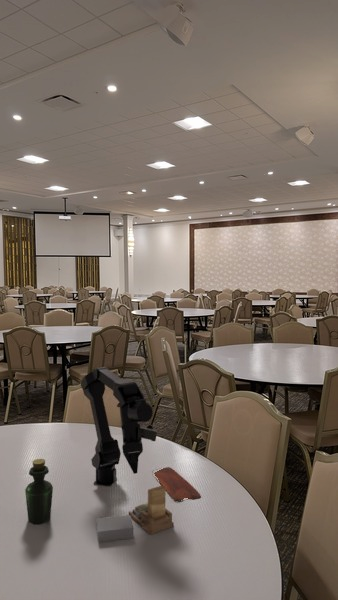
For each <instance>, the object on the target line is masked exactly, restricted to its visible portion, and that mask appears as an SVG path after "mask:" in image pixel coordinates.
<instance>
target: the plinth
mask: <svg viewBox="0 0 338 600" xmlns="http://www.w3.org/2000/svg"><path fill="white" fill-rule="evenodd" d="M132 520H133V519H132V518H131V516H130V515H129V514H125V515H118V516H117V515H116V516H107V517H100V518H99V517H98V518H96V527H95V528H96V537H97V543H101V542H102V543H103V542H110V541H111V542H112V541H118V540H125V539H126V540H127V539H134V536H135V534H134V533H135V532H134V529H135V528H134V524H133V521H132Z"/></svg>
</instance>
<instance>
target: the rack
mask: <svg viewBox="0 0 338 600" xmlns="http://www.w3.org/2000/svg"><path fill="white" fill-rule="evenodd" d="M128 515H130V516H131V519H132V520H134V521H135V522H136V523H137V524H138V525H139V526H140V527H141V528H142V527H143V528H142V529H144V530H145V531H146V532H147V534H149V535H153V534H155V533H158V532H161V531H163V530H164V531H165V530H166V529H169V528H172V527H174V524H175V523H174V521H173V513H172V512H171V511H170V510H169V509H168V508H166V507H165V515H164V516H162V517H159V518H156V519H153V518H152V517H151V516H150V515H148V501H146V502H144V503H142V504H140V505H139V504H138V505H137V506H135V507H134V508H133V509H132V511H130V510H129V511H128ZM171 526H172V527H171Z"/></svg>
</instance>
